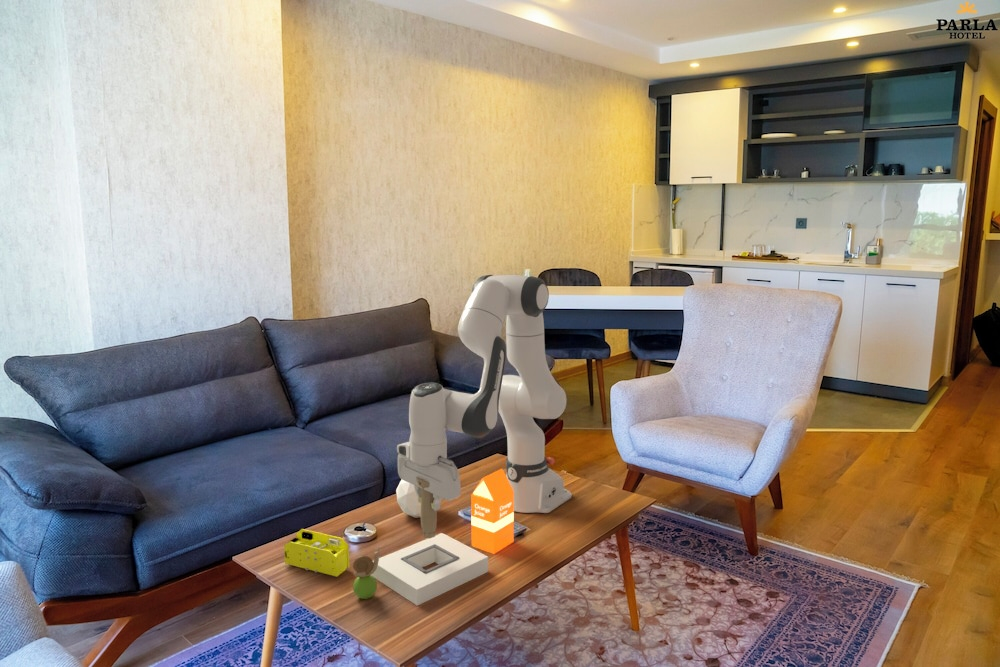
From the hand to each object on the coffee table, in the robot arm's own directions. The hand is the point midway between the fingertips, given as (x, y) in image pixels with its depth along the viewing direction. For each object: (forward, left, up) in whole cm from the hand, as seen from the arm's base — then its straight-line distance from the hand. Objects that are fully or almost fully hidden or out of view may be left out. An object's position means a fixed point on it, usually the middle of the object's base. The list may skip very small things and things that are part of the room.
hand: (429, 506), depth 175 cm
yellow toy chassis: (+18, -22, -18) cm, 34 cm away
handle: (0, 0, -8) cm, 8 cm away
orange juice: (-22, -1, -18) cm, 29 cm away
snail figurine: (+17, -2, -18) cm, 25 cm away
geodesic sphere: (-19, -29, -18) cm, 39 cm away
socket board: (0, 0, -18) cm, 18 cm away
